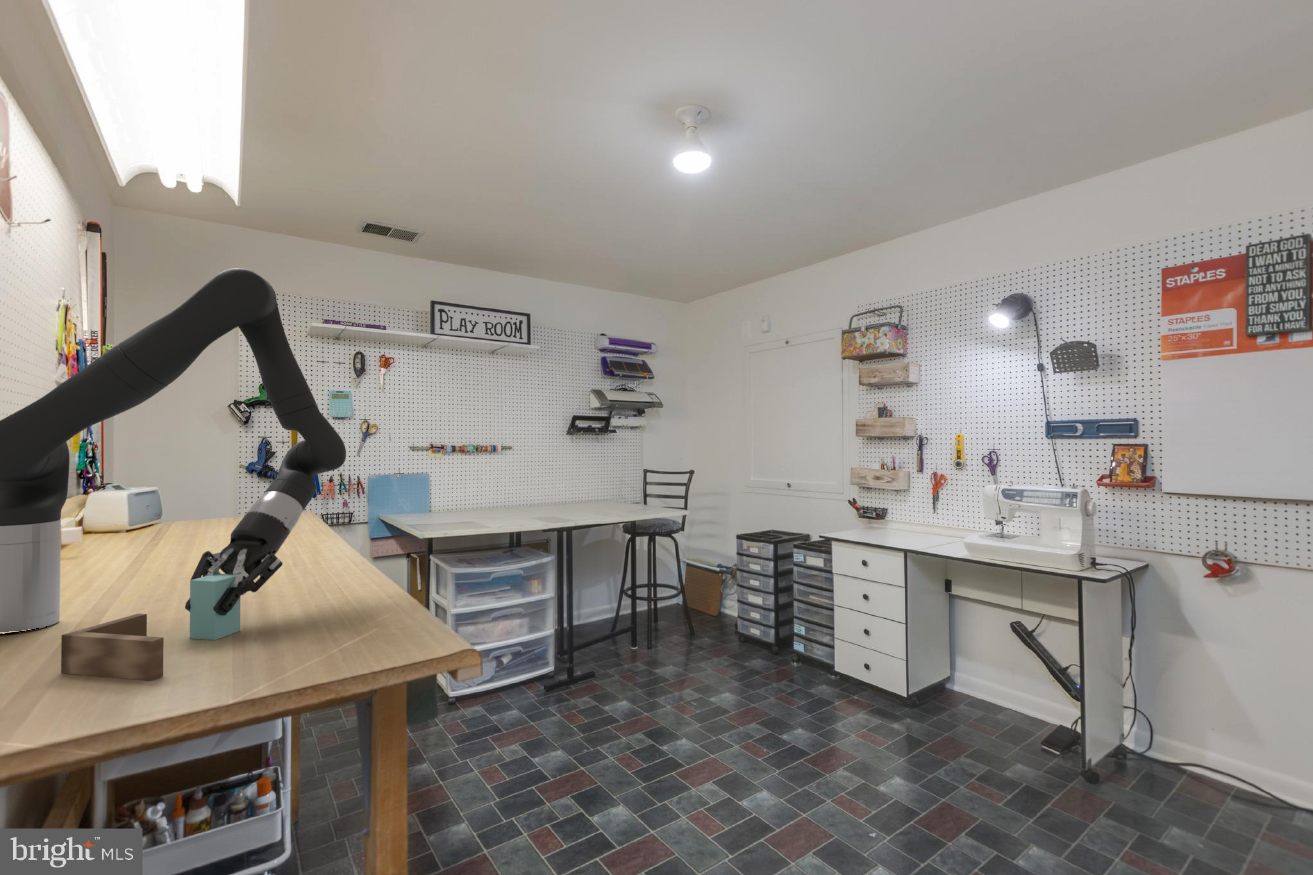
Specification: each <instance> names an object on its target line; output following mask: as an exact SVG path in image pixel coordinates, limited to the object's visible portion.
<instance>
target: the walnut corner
mask: <svg viewBox="0 0 1313 875" xmlns="http://www.w3.org/2000/svg"><path fill="white" fill-rule="evenodd" d="M147 621H148V614H147V613H136V614H132V615H127V616H124V617H121V618H117V619H114V620H110V621H107V622H103V623H99V624H96V625H92V626H89V627H85V628H82V629H78V630H75V631H70V632H67V633H64V634H61V638H60V639H61V641H60V642H61V644H60V645H61V647H60V648H61V650H60V651H61V653H60V654H61V655H60V658H61V659H60V673H61V674H66V675H67V674H69V675H80V676H91V677H104V678H105V677H106V678H115V679H126V680H127V679H129V680H140V681H154V680H157V679H159V678H161V677H164V640H165V638H164V637H160V636H149V635H147V632H148V631H147V629H148V628H147V627H148V622H147Z"/></svg>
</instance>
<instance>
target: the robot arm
mask: <svg viewBox="0 0 1313 875" xmlns="http://www.w3.org/2000/svg"><path fill="white" fill-rule="evenodd" d="M236 328H239V329H240V331H241V333H242V334H243V336H244V338H245V340H246V341H247V344H248V345H249V347H250V350H251V352H252V354H253V356H254V359H255V361H256V365H257V368H258V371H259V375H260V378H261V382H262V385H263V388H264V391H265V394H266V396H267V398H268V401H269V403H270V406H271V408H272V409H273V412H274V413H275V416H276V417H277V418H276V419H277V421H278V422H279V424H280V426H281V428H283V429H284V430H286V431H294V432H297V433H298V434H299V435H300V436H301V437H302V438H303V439H304V440H301V441H299V442H297V443H295V444H294V445H292V446H291V447H290V448H289V450H287V452H286V454H285V455H284V457H283V459H282V461H281V464H280V467H279V469H278V472H277V475H276V477H275V478H274V479H273V480H272V482H271V483H270V485H269V486H268V487H267V488H266V490H265V491H264V493H263V494H262V495H261V496H260V497H259V498H257V500H256V501H255V502H254V503H253V504H252V505H251V507H250V508H249V510H247V512H246V513H245V514H244V516H243V517H242V519H241V520H240V521H239V522H238V524H237V525H236V526H235V528H234V529H233V530H232V532H231V533H230V539H229V540H230V542H229V543H228V545H226V546H225V547H224V548H223V549H222V550H220V552H215V553H212V552H211V551H209V550H207V551H205V552H203V553H202V555H201V557H200V559H199V561H198V563H197V566H196V568H195V569H194V571H193V574H192V576H191V578H190V580H193V579H197V578H201V577H205V576H209V575H216V574H222V573H223V574H232V575H234V576H235V578H234V579H233V580H232V582H231V585H230V587H231V588H227V590H226V591H225V592H224V594H223V595H222V597H221V598H220V599H219V601H218V602H217V604H216V605H215V606H214V608H213V610H214V611H215V612H216V613H218V614H219V615H223V616H225V615H226V614H227V613H228V612H229V611H230V610H231V609H232V608H233V606H234V605H235V603H236V602H237V601H238V599H239V598H240V599H241V596H243V595H244V596H245V595H246V594H247V593H248V592H251V593H256V592H258V591H259V590H260V588H262V587H263V585H265V584H266V583H267V581H268V580H269V579H270V578H271V577H272V576H273V575H274V574H276V572H277V571H278V570H279V569H280V568H281V567H282V566H283V562H282V561H281V559H280V558H279V557H278V556H277V555H276V554H277V553H278V552H279V550H280V549H281V547H282V546H283V544H284V542H285V541H286V540H287V538H289V535H290V533H291V532H292V531H293V530H294V528H295V527H296V525H297V523H298V522H299V520H300V517H301V515H302V513H303V512H304V510H305V509H306V508H307V506H308V505H309V503H310V502H311V500H312V498H313V497H314V496H315V494H316V491H317V484H316V482H315V481H314V478H315V477H316V476H317V475H320V474H323V473H328V472H331V471H335V470H338V469H340V468H341V467H342V466H343V465H344V463H345V462H346V458H347V449H346V446H345V443H344V441H343V439H342V437H341V436H340V434H339V433H338V432H337V430H336V429H335V428H334V427H333V425H332V424H331V423H330V422H329V420H328V419H327V418H326V417H325V416H324V414H323V413H322V412H321V411H320V409H319V406H318V404H317V402H316V400H315V397H314V395H313V393H312V390H311V388H310V386H309V384H308V382H307V380H306V378H305V376H304V374H303V371H302V369H301V368H300V365H299V363H298V362H297V359H296V357H295V355H294V353H293V350H292V348H291V346H290V343H289V341H288V338H287V335H286V332H285V329H284V326H283V322H282V318H281V314H280V310H279V305H278V301H277V295H276V291H275V289H274V288H273V286H272V285H271V283H270V282H269V281H268V280H266V279H265V278H263V276H261V275H260V274H258V273H257V272H255V271H252V270H250V269H248V268H240V267H238V268H237V267H234V268H228V269H225V270H222V271H221V272H219V273H217V274H216V275H215V276H213V277H212V278H211V279H209V281H207V282H206V284H204V285H202V287H201V288H200V289H198V290H197V291H196V292H195V293H194V294H192V295H191V296H190V297H188V299H186V301H184V302H183V303H182V304H181V305H179V306H178V307H176V308H175V309H174V310H172V311H170V312H169V313H167V314H166V315H164V316H162V317H161V318H159V319H157V320H155V321H153V322H152V323H150V324H149V325H147V326H145V327H143V328H142V329H140V330H139V331H137V332H136V333H134V334H133V335H130V336H129V337H127V338H126V339H124V340H123V341H121V342H119V343H117V344H116V345H115V346H113V347H112V348H110V349H109V350H107V351H106V352H105V353H103V354H102V355H100V356H99V357H97V358H96V359H94V360H93V361H92V362H90V363H89V364H87V365H86V366H85V367H83V368H82V369H81V370H79V371H77V372H76V373H74V374H73V375H71V376H70V377H69V378H68V379H65V381H63V382H62V383H60V384H59V385H58V386H56V387H55V388H53V389H52V390H50V392H48V393H47V394H45V395H44V396H42V397H40V398H38V399H37V400H34V402H32V403H30V404H28V405H26V406H25V407H23V408H21V409H19V410H17V411H15V412H14V413H11V414H10V415H8V416H6V417H4V418H2V419H0V632H9V631H22V630H28V629H35V630H37V629H36V628H39V629H43V628H45V627H46V626H47V627H51V626H52V625H55V624H57V623H59V622H60V607H61V606H60V605H61V601H60V600H61V556H62V555H61V553H62V552H61V551H62V550H61V546H62V545H61V544H62V540H61V538H62V536H61V531H62V530H61V529H62V526H61V525H62V510H63V508H64V505H65V504H66V501H67V498H68V493H69V481H70V480H69V479H70V478H69V477H70V464H71V463H70V458H71V457H70V450H69V446H68V443H67V442H68V441H69V440H71V439H72V438H73V437H74V436H76V435H78V434H79V433H81V432H83V431H84V430H86V429H87V428H90V427H92V426H94V425H96V424H98V423H101V422H103V421H107V420H108V419H110V418H113V417H115V416H117V415H120V414H123V413H124V412H127V411H129V410H131V409H133V408H136V407H138V406H139V405H141V404H143V403H144V402H146V401H148V400H149V399H151V398H152V397H154V396H155V395H156V394H158V393H159V392H161V391H162V390H164V389H165V388H167V387H168V386H169V385H170V384H171V383H173V382H175V381H176V380H177V379H178V378H179V377H180V376H182V375H183V374H184V372H186V371H187V370H188V368H190V367H191V366H192V364H193V363H194V362H195V361H196V359H197V358H198V357H199V356H200V355H201V354H202V353H203V352H204V350H206V349H207V348H208V347H209V346H210V345H211V344H213V343H214V342H215V341H217V340H219V339H220V338H221V337H223V336H225V335H226V334H228V333H230V332H231V331H233V330H234V329H236ZM220 570H221V572H222V573H221V572H220ZM258 577H259V578H258ZM257 578H258V579H257ZM256 579H257V580H256ZM255 580H256V581H255ZM184 608H185V610H186V611H188V612H189V613H190V597H189V599H188V600H187V601H186V603H185V605H184Z"/></svg>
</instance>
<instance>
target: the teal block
mask: <svg viewBox="0 0 1313 875" xmlns="http://www.w3.org/2000/svg"><path fill="white" fill-rule="evenodd" d="M234 578H235V576H234V575H232V574H225V573H221V574H216V575H209V576H205V577H203V576H201V578H197V579H193V580H191V579H190V581H189V598H190V612H189V639H193V640H209V641H217V640H219V639H221V638H224V637H227V636H230V635H233V634H235V633H237V632H240V631H241V597H240V598H239V599H238V601H237V602H236V603H235V605H234V606H233V608H232V609H231V610H230V611H229V612H228V613H227V614H226V615H225V616H223V615H219V614H218V613H216V612H215V611H214V610H213V608H214V606H215V605H216V604H217V602H218V601H219V599H220V598H221V597H222V595H223V594H224V592H225V591H226V590H227V588H231V587H230V585H231V582H232V580H233V579H234Z"/></svg>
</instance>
